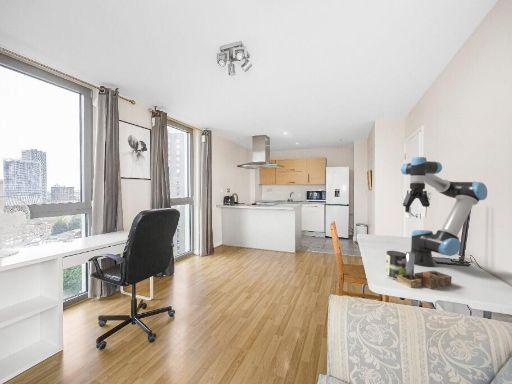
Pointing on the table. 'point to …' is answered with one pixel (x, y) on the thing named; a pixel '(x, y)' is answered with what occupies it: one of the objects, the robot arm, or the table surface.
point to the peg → (409, 265)
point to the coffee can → (395, 264)
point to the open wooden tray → (409, 281)
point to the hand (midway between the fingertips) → (415, 217)
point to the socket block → (434, 279)
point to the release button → (426, 274)
